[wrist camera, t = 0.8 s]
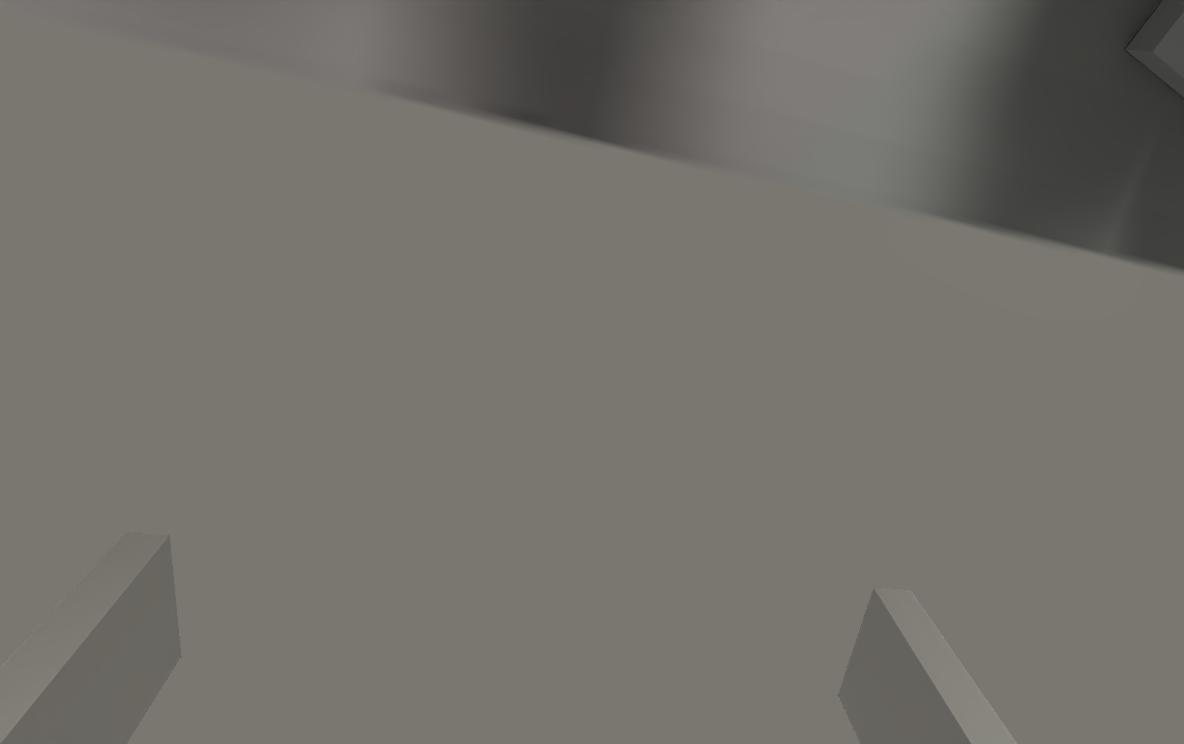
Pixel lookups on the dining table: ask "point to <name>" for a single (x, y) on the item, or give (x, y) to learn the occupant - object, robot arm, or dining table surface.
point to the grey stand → (1163, 44)
